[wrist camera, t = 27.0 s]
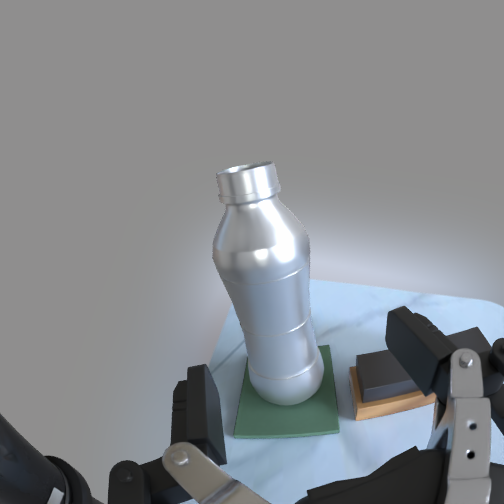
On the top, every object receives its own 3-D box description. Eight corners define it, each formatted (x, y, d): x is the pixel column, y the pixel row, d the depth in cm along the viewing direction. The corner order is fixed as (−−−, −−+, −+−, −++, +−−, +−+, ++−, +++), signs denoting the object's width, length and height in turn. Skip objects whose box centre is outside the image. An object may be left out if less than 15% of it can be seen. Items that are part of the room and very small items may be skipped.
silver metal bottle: (324, 413, 21) (298, 165, 13) (248, 413, 23) (174, 188, 15) (325, 362, 27) (301, 153, 19) (260, 364, 28) (211, 169, 21)
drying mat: (234, 438, 21) (232, 435, 21) (249, 356, 31) (248, 352, 31) (339, 433, 19) (339, 429, 19) (329, 348, 29) (329, 344, 29)
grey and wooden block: (355, 421, 20) (358, 395, 18) (348, 380, 24) (349, 352, 23) (487, 383, 17) (501, 354, 16) (469, 351, 22) (478, 322, 20)
